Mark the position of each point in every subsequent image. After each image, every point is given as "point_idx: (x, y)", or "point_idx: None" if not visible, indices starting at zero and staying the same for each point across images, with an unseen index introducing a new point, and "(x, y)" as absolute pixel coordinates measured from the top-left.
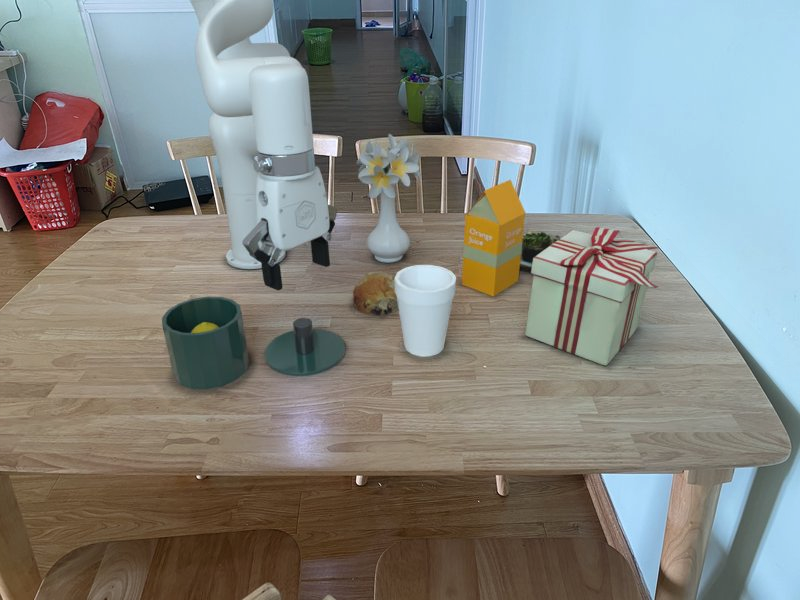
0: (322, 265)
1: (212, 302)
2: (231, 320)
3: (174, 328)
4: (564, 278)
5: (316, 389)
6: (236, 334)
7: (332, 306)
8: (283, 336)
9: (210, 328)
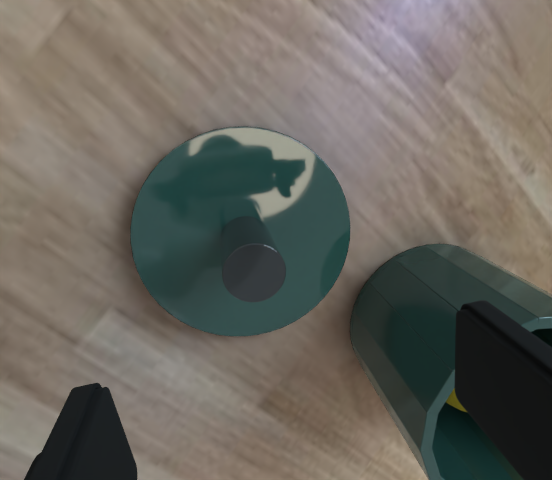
0: (115, 408)
1: (445, 474)
2: None
3: None
4: None
5: (312, 88)
6: None
7: (42, 389)
8: (252, 325)
9: None
